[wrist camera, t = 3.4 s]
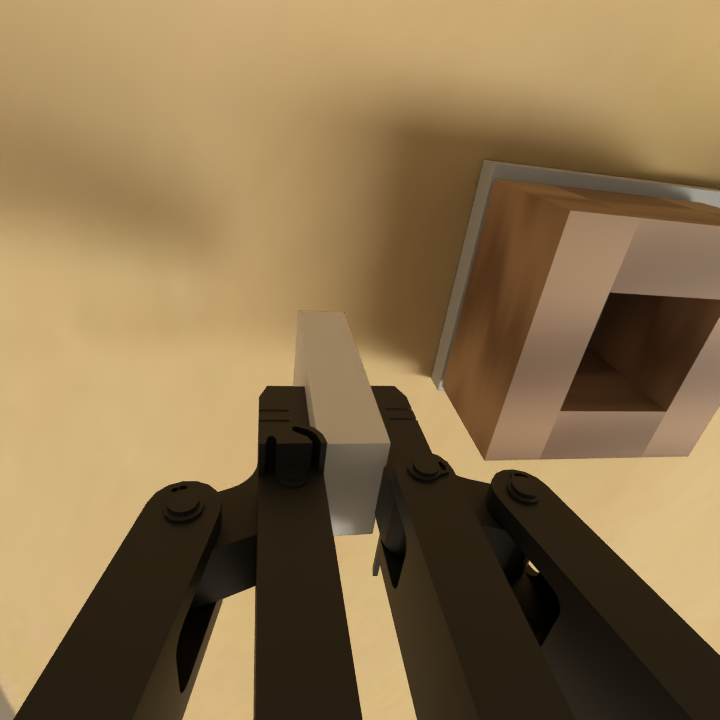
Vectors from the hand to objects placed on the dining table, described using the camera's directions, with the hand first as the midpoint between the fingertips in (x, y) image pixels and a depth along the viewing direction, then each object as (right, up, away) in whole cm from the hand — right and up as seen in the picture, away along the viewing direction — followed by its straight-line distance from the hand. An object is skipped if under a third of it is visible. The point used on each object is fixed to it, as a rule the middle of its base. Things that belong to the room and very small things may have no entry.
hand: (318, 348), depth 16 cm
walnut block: (+11, +2, +7) cm, 13 cm away
